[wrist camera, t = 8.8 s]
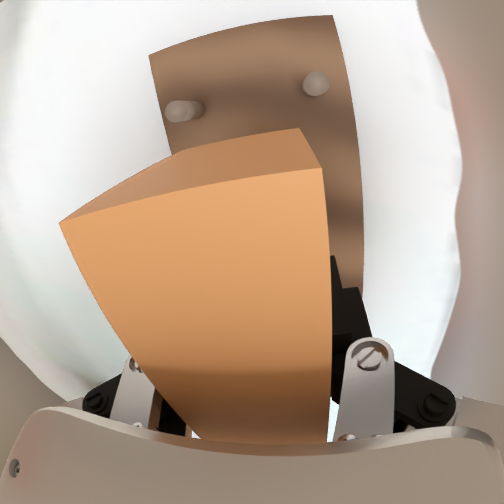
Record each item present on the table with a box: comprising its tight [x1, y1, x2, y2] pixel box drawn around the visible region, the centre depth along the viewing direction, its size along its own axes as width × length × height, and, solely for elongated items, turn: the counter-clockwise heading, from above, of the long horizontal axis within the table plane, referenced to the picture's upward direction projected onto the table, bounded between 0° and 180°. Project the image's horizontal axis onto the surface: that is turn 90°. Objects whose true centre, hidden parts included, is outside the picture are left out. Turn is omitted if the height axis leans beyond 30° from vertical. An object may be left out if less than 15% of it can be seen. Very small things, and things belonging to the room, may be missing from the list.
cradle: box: [149, 15, 364, 297], centre depth 17 cm, size 26×12×5 cm, turn 11°
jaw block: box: [59, 128, 332, 444], centre depth 9 cm, size 4×12×6 cm, turn 11°
